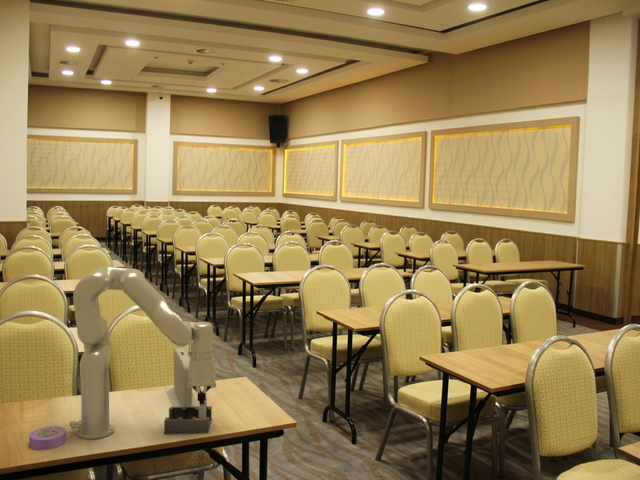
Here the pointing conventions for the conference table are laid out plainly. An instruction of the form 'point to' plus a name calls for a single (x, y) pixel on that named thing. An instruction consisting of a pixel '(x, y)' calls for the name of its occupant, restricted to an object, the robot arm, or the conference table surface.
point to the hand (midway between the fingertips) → (201, 402)
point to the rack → (187, 421)
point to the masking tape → (47, 437)
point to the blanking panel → (203, 410)
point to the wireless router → (181, 382)
